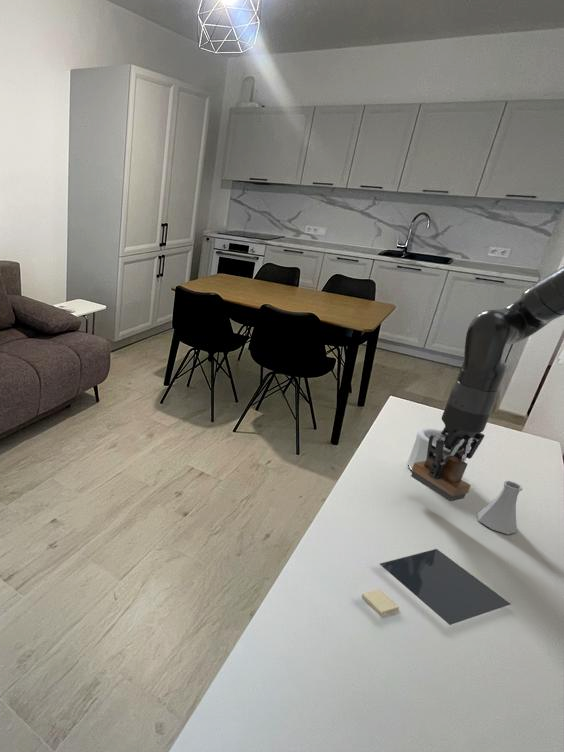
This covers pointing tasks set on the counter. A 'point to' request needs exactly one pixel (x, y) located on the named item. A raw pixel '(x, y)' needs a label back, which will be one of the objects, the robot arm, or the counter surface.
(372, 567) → the counter surface
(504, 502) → the flask
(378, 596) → the felt pad
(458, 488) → the brush
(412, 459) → the mug
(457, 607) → the slate tile
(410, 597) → the counter surface
